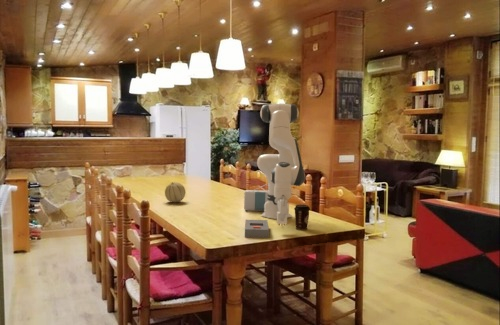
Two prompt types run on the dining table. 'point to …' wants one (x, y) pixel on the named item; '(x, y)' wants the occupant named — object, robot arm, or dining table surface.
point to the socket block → (256, 228)
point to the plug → (280, 219)
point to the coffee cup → (301, 216)
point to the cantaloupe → (175, 192)
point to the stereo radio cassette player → (255, 199)
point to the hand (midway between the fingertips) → (281, 219)
